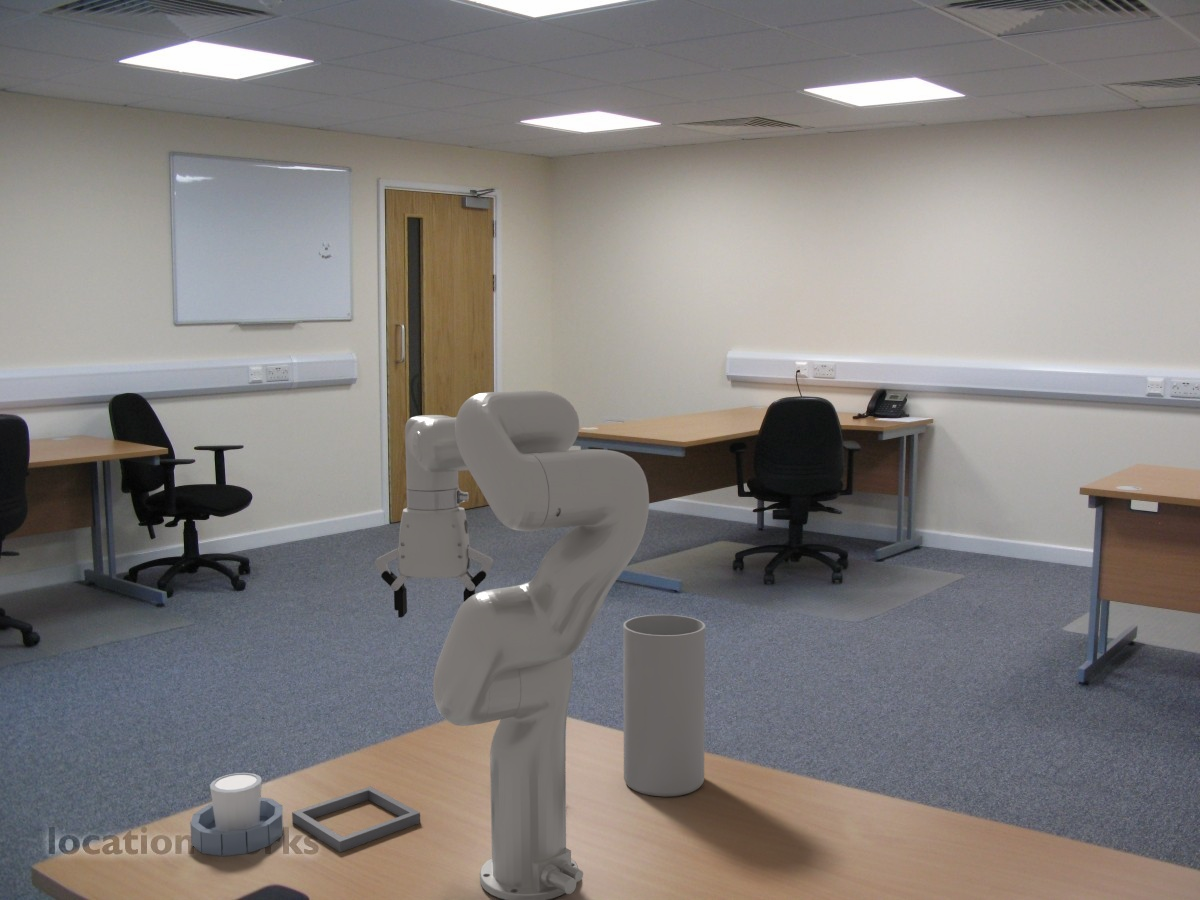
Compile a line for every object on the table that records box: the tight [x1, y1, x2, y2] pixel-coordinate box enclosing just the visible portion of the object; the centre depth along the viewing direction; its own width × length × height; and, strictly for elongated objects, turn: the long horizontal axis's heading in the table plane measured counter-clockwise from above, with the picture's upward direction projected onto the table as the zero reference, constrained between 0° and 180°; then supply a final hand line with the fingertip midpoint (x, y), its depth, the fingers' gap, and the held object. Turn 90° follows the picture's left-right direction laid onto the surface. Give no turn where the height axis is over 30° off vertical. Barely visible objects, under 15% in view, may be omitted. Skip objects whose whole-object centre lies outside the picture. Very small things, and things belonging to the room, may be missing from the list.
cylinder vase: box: [622, 614, 706, 798], centre depth 171 cm, size 12×12×25 cm
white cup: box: [209, 772, 263, 831], centre depth 154 cm, size 7×7×7 cm
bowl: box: [190, 796, 284, 857], centre depth 154 cm, size 12×12×3 cm
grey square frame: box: [291, 785, 421, 853], centre depth 158 cm, size 13×13×2 cm
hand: (435, 615), depth 163 cm, fingers open, 9 cm apart
